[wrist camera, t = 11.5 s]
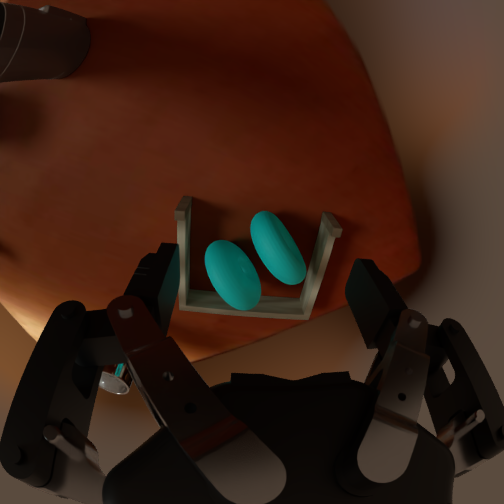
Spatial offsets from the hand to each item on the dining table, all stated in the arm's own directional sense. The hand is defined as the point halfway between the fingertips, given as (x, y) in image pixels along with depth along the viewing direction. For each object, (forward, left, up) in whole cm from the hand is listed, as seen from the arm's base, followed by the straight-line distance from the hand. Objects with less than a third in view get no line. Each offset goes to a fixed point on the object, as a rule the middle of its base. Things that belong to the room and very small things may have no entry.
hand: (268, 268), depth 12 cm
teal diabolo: (+12, +2, -24) cm, 27 cm away
